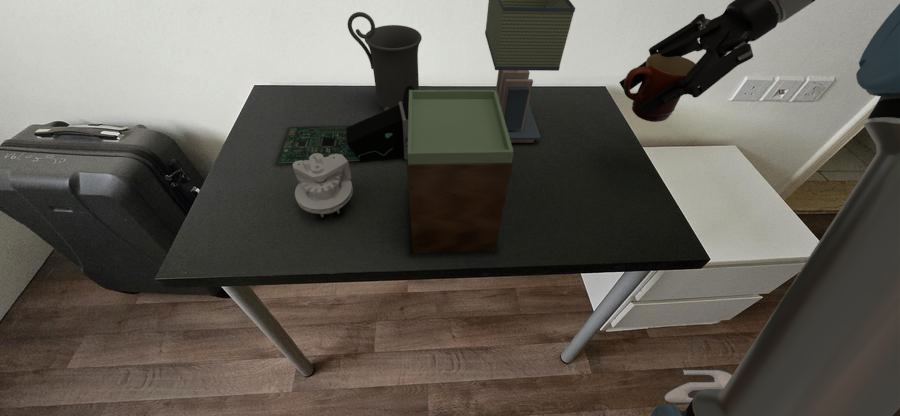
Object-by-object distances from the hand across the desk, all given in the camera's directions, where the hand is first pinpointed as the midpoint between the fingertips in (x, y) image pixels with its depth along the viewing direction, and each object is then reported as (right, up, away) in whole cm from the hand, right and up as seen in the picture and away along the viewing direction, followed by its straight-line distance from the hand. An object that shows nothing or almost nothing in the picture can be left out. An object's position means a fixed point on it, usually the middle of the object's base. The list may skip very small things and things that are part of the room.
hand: (632, 98), depth 70 cm
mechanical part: (-60, -20, +7) cm, 64 cm away
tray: (-34, -8, -11) cm, 36 cm away
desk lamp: (-20, +1, +28) cm, 34 cm away
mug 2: (+3, -2, +3) cm, 5 cm away
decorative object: (-50, -7, +19) cm, 54 cm away
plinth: (-35, -23, +6) cm, 42 cm away
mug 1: (-50, +7, +33) cm, 60 cm away
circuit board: (-65, -5, +21) cm, 69 cm away
